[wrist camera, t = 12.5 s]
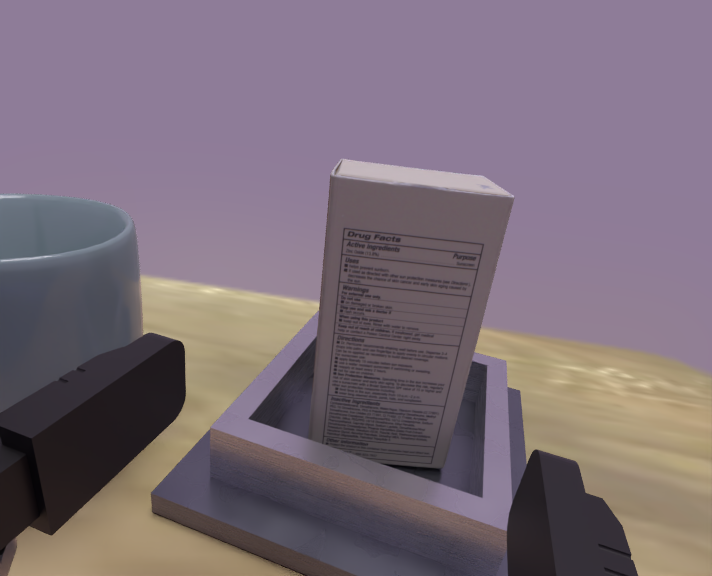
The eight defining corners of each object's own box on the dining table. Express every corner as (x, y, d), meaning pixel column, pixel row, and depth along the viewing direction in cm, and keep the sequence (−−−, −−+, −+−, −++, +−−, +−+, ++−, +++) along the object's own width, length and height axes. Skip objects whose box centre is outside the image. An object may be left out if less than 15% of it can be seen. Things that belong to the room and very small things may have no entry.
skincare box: (431, 409, 23) (492, 175, 18) (445, 475, 19) (528, 196, 14) (310, 393, 23) (339, 152, 18) (298, 456, 19) (330, 167, 14)
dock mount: (152, 512, 16) (147, 441, 15) (300, 342, 29) (305, 295, 28) (532, 668, 14) (570, 598, 12) (515, 404, 26) (532, 354, 25)
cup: (155, 382, 23) (144, 198, 19) (143, 503, 17) (124, 263, 13) (-26, 397, 21) (-82, 187, 17) (-124, 550, 14) (-256, 262, 10)
